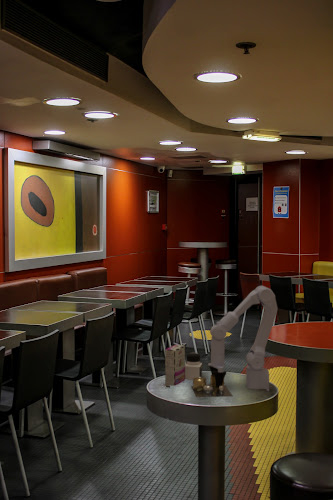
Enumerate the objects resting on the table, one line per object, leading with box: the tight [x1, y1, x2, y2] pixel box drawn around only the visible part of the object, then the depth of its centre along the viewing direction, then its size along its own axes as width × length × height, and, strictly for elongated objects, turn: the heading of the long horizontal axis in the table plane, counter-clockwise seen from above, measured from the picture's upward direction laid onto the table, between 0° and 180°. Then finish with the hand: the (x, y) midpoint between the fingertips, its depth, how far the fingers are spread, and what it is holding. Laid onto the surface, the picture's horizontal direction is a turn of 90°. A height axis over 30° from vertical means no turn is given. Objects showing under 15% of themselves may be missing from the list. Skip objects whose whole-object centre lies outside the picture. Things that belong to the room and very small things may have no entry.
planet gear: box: [209, 374, 225, 389], centre depth 250 cm, size 6×6×5 cm
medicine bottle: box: [185, 352, 203, 381], centre depth 265 cm, size 7×7×12 cm
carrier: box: [190, 376, 234, 398], centre depth 244 cm, size 15×16×6 cm
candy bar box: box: [164, 344, 186, 388], centre depth 257 cm, size 11×5×16 cm, turn 154°
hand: (217, 385), depth 250 cm, fingers open, 7 cm apart
